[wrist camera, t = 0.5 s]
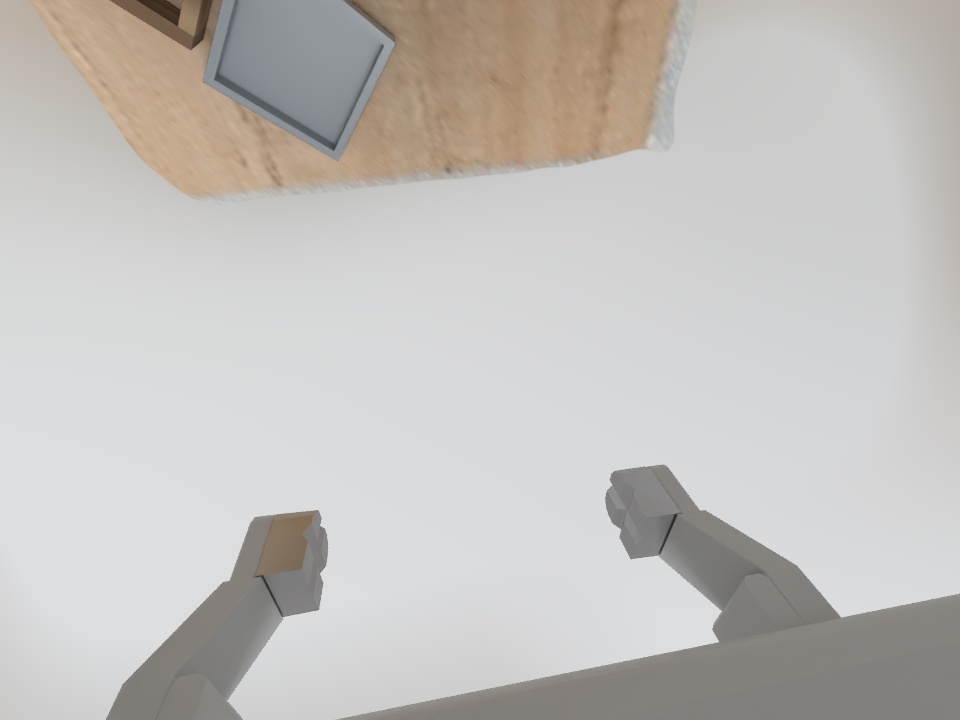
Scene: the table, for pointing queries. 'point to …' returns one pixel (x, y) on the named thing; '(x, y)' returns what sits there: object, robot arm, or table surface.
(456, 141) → the table surface
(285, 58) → the tray
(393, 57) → the table surface
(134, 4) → the socket block
